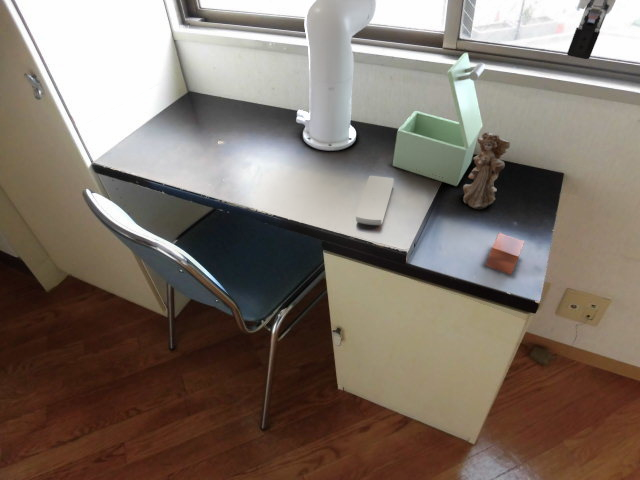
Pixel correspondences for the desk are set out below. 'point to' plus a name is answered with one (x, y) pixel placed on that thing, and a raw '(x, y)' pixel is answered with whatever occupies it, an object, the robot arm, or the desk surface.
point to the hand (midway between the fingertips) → (582, 46)
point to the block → (505, 253)
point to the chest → (432, 148)
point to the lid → (466, 97)
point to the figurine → (485, 171)
